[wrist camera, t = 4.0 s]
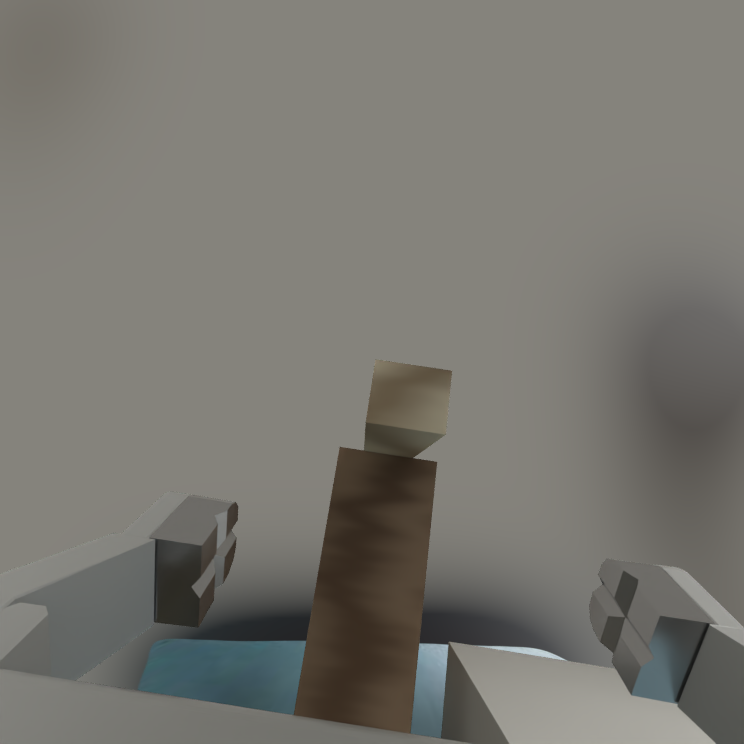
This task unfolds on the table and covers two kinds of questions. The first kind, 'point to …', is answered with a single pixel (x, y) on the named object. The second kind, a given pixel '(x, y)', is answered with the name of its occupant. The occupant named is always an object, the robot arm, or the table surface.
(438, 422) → the slat
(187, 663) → the table surface
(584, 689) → the white upright block
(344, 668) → the post
